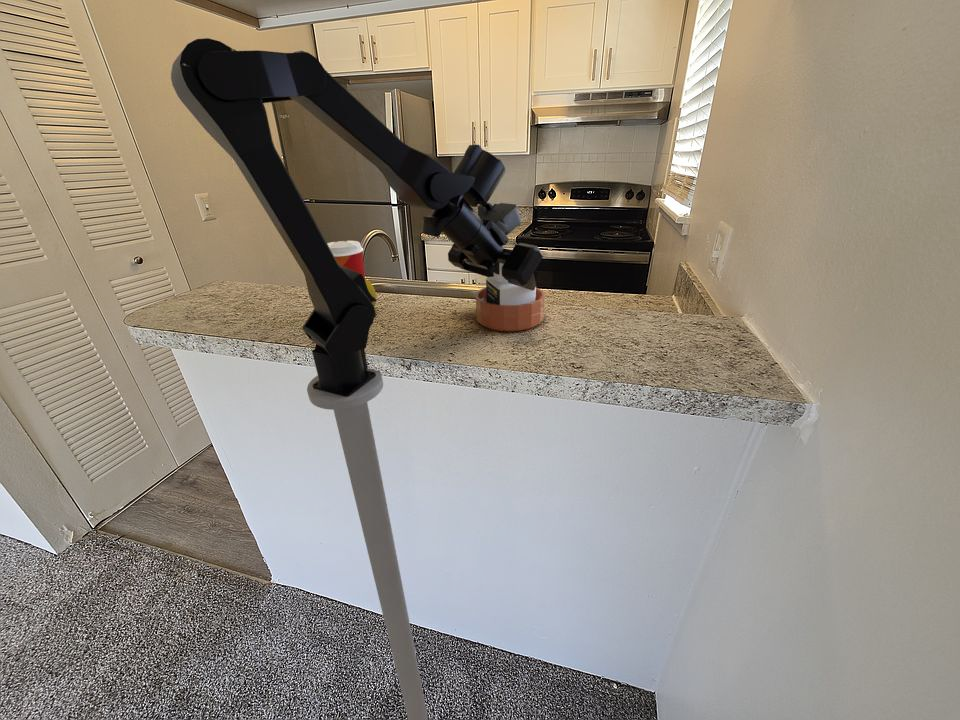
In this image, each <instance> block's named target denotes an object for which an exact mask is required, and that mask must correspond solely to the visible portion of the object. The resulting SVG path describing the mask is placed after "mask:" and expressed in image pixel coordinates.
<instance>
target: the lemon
mask: <svg viewBox="0 0 960 720" xmlns="http://www.w3.org/2000/svg"><path fill="white" fill-rule="evenodd" d="M365 282H366V285H367V288H368V291H369V292H370V294H371V295H372V296H373V297H374V298H375V299H376V300H377V291H376V290H375V287H374V286H373V283H372V282H371V281H369V280H368V279H366V278H365ZM372 303H373V305H374V308H375V307H376V304H377V301H376V302H372Z"/></svg>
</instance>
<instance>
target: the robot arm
mask: <svg viewBox="0 0 960 720" xmlns="http://www.w3.org/2000/svg"><path fill="white" fill-rule="evenodd" d="M170 80H171V85H172V87H173V89H174V91H175V94H176V96H177V97H178V99H179V100H180V102H181V103H182V104H183V105H184V106H185V108H187V110H188V111H189V112H190V113H191V114H192V116H193V117H194V118H195V119H196V121H197V122H198V123H199V124H200V126H202V128H203V129H204V130H205V132H206V133H207V134H209V135H210V137H212V139H213V140H214V141H215V142H216V144H218V145H219V146H220V147H221V148H222V149H223V150H224V151H225V152H226V153H227V154H228V155H229V157H231V159H232V160H233V161H234V162H235V164H236V165H237V167H238V169H239V170H240V172H241V174H242V175H243V177H244V179H245V181H246V183H248V185H249V186H250V188H251V190H252V192H253V193H254V195H255V196H256V199H257V200H258V201H259V203H260V205H261V206H262V208H263V209H264V211H265V213H266V215H267V216H268V218H269V219H270V221H271V222H272V224H273V226H274V227H275V229H276V231H277V232H278V234H279V235H280V237H281V239H282V240H283V242H284V243H285V245H286V247H287V248H288V249H289V252H290V253H291V255H292V257H293V258H294V260H295V261H296V263H297V265H298V266H299V268H300V270H301V271H302V274H303V275H304V279H305V283H306V289H307V292H308V293H307V294H308V295H309V298H310V300H311V303H312V306H313V308H314V309H313V310H312V311H311V313H310V315H309V316H308V318H307V319H306V321H305V322H304V324H303V326H302V327H301V329H302V331H303V333H304V334H305V335H306V337H307V338H308V339H309V340H310V341H312V342H313V343H314V344H315V345H314V349H312V350H311V354H312V358H313V362H314V367H315V370H316V375H318V378H319V381H317V382H316V383H314V384H313V385H312V386H313V388H314V389H317V390H321V391H325V392H329V393H332V394H336V395H340V396H344V397H348V396H350V395H352V394H353V393H354V392H356V391H357V390H358V389H360V388H361V387H362V386H364V385H365V384H366V383H368V382H369V381H370V380H371V379H373V378H374V377H375V376H376V373H375V372H372V371H367V369H369V367H368V361H367V355H366V350H365V349H367V345H368V344H367V343H368V340H369V335H370V334H369V333H370V328H371V327H372V325H373V323H374V321H375V318H376V316H377V314H376V313H377V311H376V309H375V307H374V305H373V303H372V302H376V303H377V298H376V299H375V298H374V297H373V296H372V295H371V294H370V292H369V291H368V288H367V285H366V282H365V279H366V278H365V279H364V277H363V275H362V274H360V273H358V272H355V271H353V270H351V269H348V268H346V267H344V266H342V267H340V265H339V264H338V263H337V261H336V259H335V257H334V255H333V253H332V252H331V250H330V248H329V246H328V244H327V243H328V242H327V240H326V238H325V236H324V235H323V233H322V231H321V230H320V228H319V225H317V223H316V220H315V219H314V217H313V215H312V213H311V212H310V209H309V207H308V205H307V204H306V202H305V200H304V199H303V197H302V194H301V193H300V191H299V189H298V188H297V186H296V184H295V182H294V180H293V178H292V176H291V174H290V172H289V170H288V169H287V167H286V165H285V164H284V162H283V160H282V158H281V155H280V154H279V153H278V151H277V149H276V147H275V144H274V141H273V136H272V133H271V128H270V123H269V118H268V114H267V110H266V106H265V104H268V103H277V102H286V101H294V102H296V103H298V104H299V105H300V106H302V107H303V108H304V109H305V110H306V111H308V112H309V113H310V114H311V115H313V116H314V117H315V118H316V119H317V120H319V121H320V122H321V123H323V125H325V126H326V128H329V129H330V130H331V131H332V132H334V133H335V134H336V135H337V136H338V137H339V138H340V139H341V140H343V141H344V142H345V143H347V144H348V145H349V146H351V148H353V149H354V150H355V151H356V152H358V153H359V154H360V155H361V156H362V157H363V158H365V159H366V160H368V162H370V163H371V164H372V165H374V166H375V167H376V168H377V169H378V170H379V172H380V173H381V174H382V175H383V177H384V178H385V180H386V182H387V184H388V186H389V187H390V189H392V190H393V192H394V193H395V194H396V195H397V196H398V197H399V198H400V199H401V200H402V202H403V203H405V204H406V205H408V206H410V207H414V208H420V209H421V208H422V209H428V210H432V211H431V213H430V214H429V215H424V216H423V217H422V220H423V225H422V233H423V234H424V235H426V236H430V237H434V238H439V237H440V236H441V234H443V235H445V236H446V237H447V238H448V239H449V241H450V242H452V243H453V244H452V246H451V248H450V249H449V250H448V253H447V260H448V262H449V263H450V264H451V265H453V267H456V268H459V269H461V270H463V271H467V272H470V273H474V274H475V275H476V274H477V275H480V276H483V277H486V278H487V277H494V263H495V262H499V263H503V264H504V265H503V266H502V276H503V277H504V278H505V279H506V280H507V281H508V283H511V284H514V285H517V286H520V287H523V288H526V289H529V290H532V291H533V290H534V289H535V288H537V282H536V278H535V275H534V273H535V271H536V270H537V268H538V266H539V265H540V263H541V261H542V259H543V258H544V254H543V252H542V250H541V249H540V248H539V247H538V245H535V244H530V243H529V244H528V243H523V242H520V243H515V245H514V246H513V248H512V249H511V248H510V249H509V248H505V247H504V246H507V244H508V243H509V241H510V237H508V235H509V234H510V233H512V232H513V231H514V230H515V229H516V228H517V227H520V226H521V225H522V224H523V222H522V218H521V215H520V212H519V209H518V205H517V204H514V203H506V202H499V203H493V204H492V203H490V202H489V200H490V198H491V197H492V195H493V194H494V192H495V191H496V189H497V187H498V186H499V184H500V182H501V181H502V179H503V177H504V176H505V174H506V167H505V165H504V163H503V161H502V160H501V159H499V158H497V157H496V156H495V155H494V154H492V153H490V152H489V151H487V150H485V149H483V148H482V147H481V145H480V144H469V145H468V147H467V148H466V150H465V152H464V154H463V156H462V159H461V160H460V162H459V163H458V165H457V166H456V168H455V170H454V171H453V172H451V171H450V170H449V169H448V168H447V167H446V166H445V165H443V164H442V163H440V162H439V161H437V160H436V159H435V158H433V157H432V156H430V155H428V154H427V153H424V152H422V151H420V150H417V149H415V148H413V147H411V146H409V145H408V144H406V143H405V142H403V140H401V139H400V138H399V137H398V136H397V135H396V134H395V133H394V132H393V131H392V130H390V129H389V128H388V127H387V126H386V125H385V124H384V123H383V122H382V121H381V120H380V119H379V118H378V117H376V116H375V114H373V113H372V112H371V111H370V110H369V109H368V108H367V107H366V105H365V106H364V104H362V102H361V101H359V100H358V99H357V98H356V97H355V96H354V95H353V94H352V93H351V92H350V91H349V90H347V88H346V87H344V85H342V84H341V83H340V82H339V81H338V80H337V79H336V78H335V77H334V76H333V75H331V74H330V73H329V71H327V70H326V69H325V67H324V66H323V64H322V63H321V62H320V61H319V59H318V58H317V57H316V56H314V55H313V54H311V53H310V52H308V51H304V50H296V51H293V52H281V51H269V50H259V49H258V50H257V49H255V50H236V49H235V48H232V47H230V45H228V44H226V43H224V42H222V41H220V40H216V39H213V38H208V37H206V38H204V37H203V38H196V39H194V40H192V41H190V42H188V43H187V44H186V45H185V46H184V47H183V49H182V50H181V52H180V53H179V54H178V56H177V57H176V59H174V61H173V63H172V66H171V71H170ZM473 207H475V208H476V207H477V212H476V211H475V209H474V208H473Z"/></svg>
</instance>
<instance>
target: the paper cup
mask: <svg viewBox="0 0 960 720" xmlns="http://www.w3.org/2000/svg"><path fill="white" fill-rule="evenodd" d="M327 244H328V246H329V248H330V250H331V252H332V253H333V255H334V257H335V259H336V261H337V263H338V264H339V265H340V267H342V266H344V267H346V268H348V269H351V270H353V271H355V272H358V273H360V274H362V275H363V277H364V279H366V274H365V273H366V272H365V265H364V255H363V252H364V248H363V247H362V245H361V243H360V242H359V241H357V240H339V241H332V242H331V241H330V242H327Z"/></svg>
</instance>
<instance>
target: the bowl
mask: <svg viewBox="0 0 960 720" xmlns="http://www.w3.org/2000/svg"><path fill="white" fill-rule="evenodd" d="M545 297H546V296H545V292H544V290H541V289H540V288H538V287H536V296H535V301H534V302H531V303H528V304H522V305H498V304H491V303H488V302H486V287H483V288H481V289H479V290H478V291H477V292H476V293H475V319H476V322H478V323H479V324H480V326H481V325H482V326H483V327H485V328H486V329H490V330H494V331H498V332H499V331H500V332H520V331H525V330H530V329H532V328H534V327H537V326H538V325H540V324H541V323H542V322H543V320H544V319H545V303H546V302H545V301H546V300H545V299H546V298H545Z"/></svg>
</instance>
